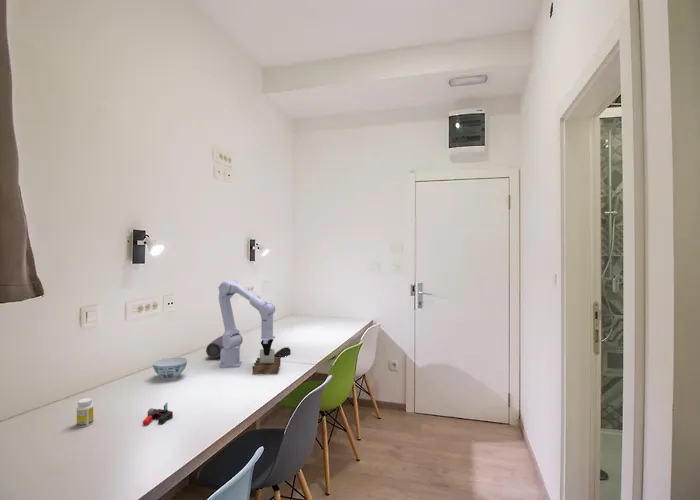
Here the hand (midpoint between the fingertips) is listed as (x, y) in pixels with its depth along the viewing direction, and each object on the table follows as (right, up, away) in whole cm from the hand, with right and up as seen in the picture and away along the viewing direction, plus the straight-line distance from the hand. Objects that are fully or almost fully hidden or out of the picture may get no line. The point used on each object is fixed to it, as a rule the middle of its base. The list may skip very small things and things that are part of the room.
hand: (267, 354), depth 195 cm
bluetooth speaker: (-33, -8, +27) cm, 43 cm away
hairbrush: (+1, -8, +22) cm, 23 cm away
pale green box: (0, -4, 0) cm, 4 cm away
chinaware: (-43, -8, -13) cm, 46 cm away
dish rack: (0, -8, 0) cm, 8 cm away
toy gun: (-28, -8, -58) cm, 65 cm away
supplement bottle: (-50, -8, -62) cm, 80 cm away
